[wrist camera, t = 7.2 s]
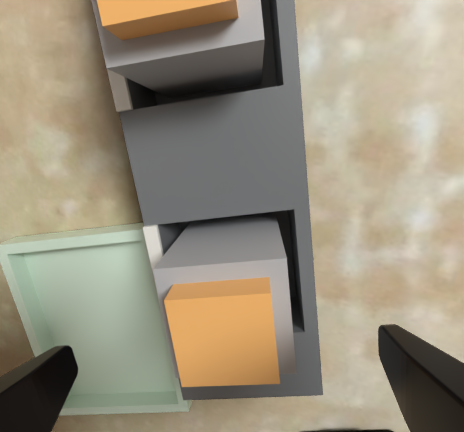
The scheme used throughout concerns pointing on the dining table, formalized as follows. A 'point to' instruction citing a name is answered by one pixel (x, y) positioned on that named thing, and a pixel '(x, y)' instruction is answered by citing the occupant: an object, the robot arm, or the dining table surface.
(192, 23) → the twin plug
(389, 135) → the dining table surface
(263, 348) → the plug
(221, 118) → the grey long block
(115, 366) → the tray
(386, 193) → the dining table surface
